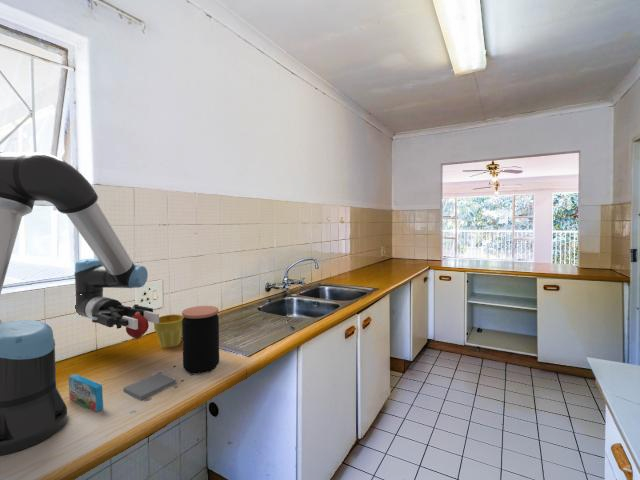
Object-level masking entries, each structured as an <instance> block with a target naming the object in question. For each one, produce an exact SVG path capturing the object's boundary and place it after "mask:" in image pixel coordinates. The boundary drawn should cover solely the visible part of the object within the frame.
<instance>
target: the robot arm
mask: <svg viewBox="0 0 640 480" xmlns="http://www.w3.org/2000/svg"><path fill="white" fill-rule="evenodd" d="M98 200H99V196H98V194H97V192H96V190H95V189H94V187H93V186H92V185H91V183H90V182H89V180H88V179H86V177H85V176H84V175H82V173H81V172H80V171H78V170H77V169H76V168H75V167H74V166H73V165H71V164H69V163H68V162H67V161H65V160H62V159H61V158H59V157H57V156H55V155H52V154H48V153H44V152H43V153H42V152H31V153H30V152H22V153H21V152H3V151H2V152H1V151H0V295H1V294H2V291H3V286H4V283H5V279H6V276H7V272H8V268H9V264H10V262H11V258H12V255H13V250H14V247H15V243H16V240H17V236H18V232H19V230H20V225H21V222H22V218H23V217H24V216H27V215H28V214H31V213H32V212H33V210H34V209H33V208H34V205H35V201H41V202H42V201H45V202H47V203H50V204H52V205H53V206H54V207H55V209H56V210H57V211H58V212H59V213H61V214H65V215H66V216H67V217H68V219H69V220H70V221H71V223H72V224H73V226H74V227H75V228H76V230H77V231H78V233H79V234H80V235H81V237H82V238H83V240H84V241H85V242H86V244H87V245H88V247H89V248H90V249H91V251H92V252H93V253H94V255H95V256H96V257H97V258H83V259H78V260H76V262H75V266H74V269H75V271H74V282H75V283H74V284H75V285H74V286H75V293H76V294H75V295H74V297H75V296H76V305H75V309H76V312H77V313H78V314H79V315H78V314H77V315H78V316H80V315H81V317H84V318H89V319H90V320H91V323H96V324H100V325H102V326H105V327H107V328H113V327H114V326H116V329H122V327H125V328H126V327H128V328H131V329H135V330H136V329H138V319H134V318H131V317H132V316H134V315H135V313H136V312H140V315H142V316H143V317H145V318H146V319H147V321H148V323H152V324H154V323H156V324H157V323H159V317H160V313H156V312H154V308H153V307H148V306H144V305H143V306H142V305H139V304H136V303H135V304H133V305H132V307H131V306H126V305H123V304H122V302H121V301H119V300H117V299H114V298H110V297H106V296H104V289H105V288H108V289H109V288H111V289H114V288H115V289H135V288H137V289H138V288H143V287H144V286H145V284H146V282H147V281H148V275H149V274H148V270H147V268H146V266H144V265H140V264H135V263H134V262H133V260H132V259H131V257H130V255H129V254H128V252H127V250H126V248H125V246H123V244H122V242H121V240H120V238H119V236H118V235H117V233H116V232H115V231H114V229H113V226H111V223H110V222H109V221H108V218H107V216H106V215H105V214H104V212H103V210H102V208H101V207H100V205H99V204H98ZM80 294H82V295H80ZM55 341H56V340H55V339H54V331H53V329H52V327H51V326H50V325H49V324H48V323H46V322H43V321H38V320H30V319H29V320H28V319H27V320H26V319H22V320H17V321H15V320H9V321H4V322H3V321H2V320H1V319H0V456H2V455H7V454H13V453H16V452H19V451H22V450H24V449H27V448H30V447H32V446H34V445H37V444H39V443H42V442H43V441H45V440H47V439H48V438H50V437H51V436H53V435H54V434H56V433H57V432H59V430H61V429H62V428H63V427H64V426H65V424H66V423H67V421H68V417H69V416H68V408H67V407H68V406H67V405H66V402H65V401H64V398H63V397H62V395H61V394H60V392H59V390H58V388H57V381H56V377H57V376H56V374H57V373H56V371H57V370H56V350H55V349H56V342H55Z"/></svg>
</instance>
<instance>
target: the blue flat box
mask: <svg viewBox="0 0 640 480" xmlns="http://www.w3.org/2000/svg"><path fill="white" fill-rule="evenodd" d="M68 392H69V393H68V394H69V397H68V398H69V400H70V401H73V402H74V403H76V404H79V405H81V406H83V407H84V408H87V409H88V410H91V411H93V412H94V413H97V412H100V411H101V410H104V400H103V399H104V397H103V385H102V384H100V383H98V382H97V381H96V382H95V381H93V380H91V379H88V378H86V377H84V376H81V375H79V374H77V373H76V374H72V375H70V376H68Z"/></svg>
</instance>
